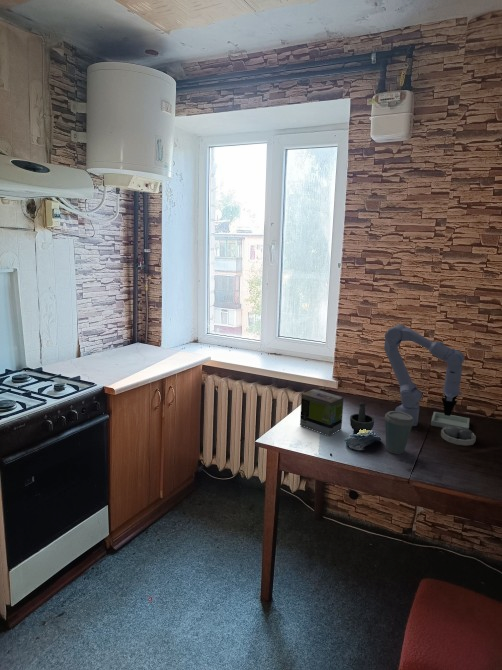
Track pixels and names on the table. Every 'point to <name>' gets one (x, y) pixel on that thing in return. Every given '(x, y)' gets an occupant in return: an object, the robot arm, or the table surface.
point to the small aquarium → (321, 411)
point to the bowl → (458, 441)
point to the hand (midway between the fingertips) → (448, 412)
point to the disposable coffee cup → (397, 430)
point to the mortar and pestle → (361, 420)
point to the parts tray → (449, 421)
